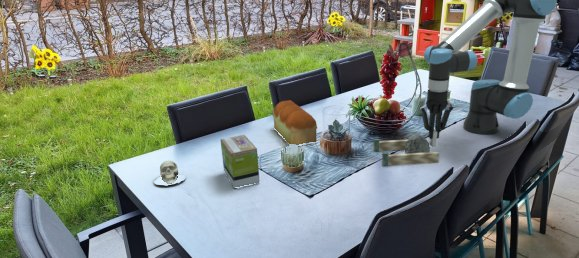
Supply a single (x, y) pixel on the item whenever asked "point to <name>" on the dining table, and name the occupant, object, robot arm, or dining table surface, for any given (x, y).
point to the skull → (169, 172)
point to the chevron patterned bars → (402, 158)
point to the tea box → (240, 160)
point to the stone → (417, 144)
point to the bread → (294, 123)
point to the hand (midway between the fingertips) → (432, 145)
